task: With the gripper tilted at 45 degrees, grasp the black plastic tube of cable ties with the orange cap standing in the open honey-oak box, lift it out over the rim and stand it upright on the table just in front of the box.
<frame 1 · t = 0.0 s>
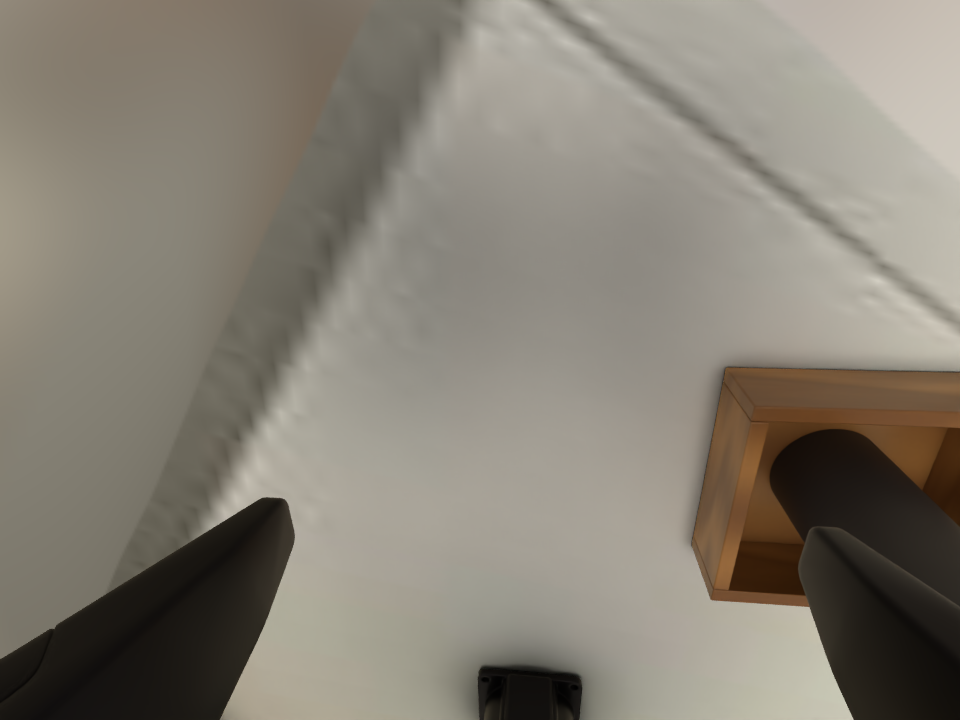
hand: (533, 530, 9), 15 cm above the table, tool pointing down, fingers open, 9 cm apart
box: (821, 468, 25), on the table
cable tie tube: (824, 472, 24), resting on box
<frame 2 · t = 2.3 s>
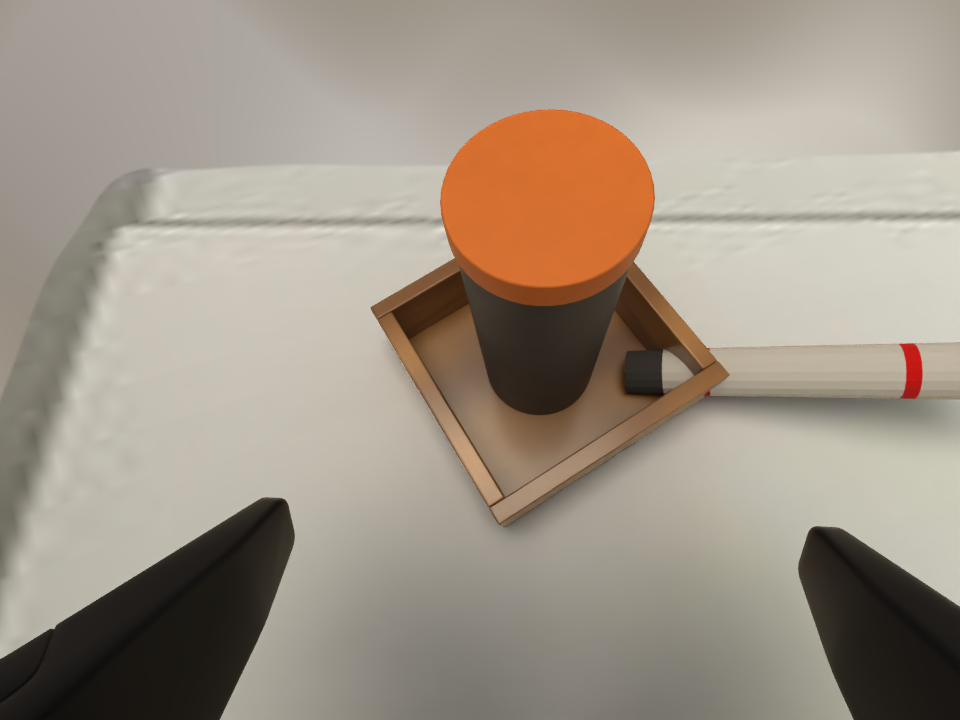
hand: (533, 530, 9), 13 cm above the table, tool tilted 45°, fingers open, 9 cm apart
marker: (830, 381, 21), point 2 cm above the table, touching box
box: (538, 366, 24), on the table
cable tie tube: (538, 364, 24), resting on box
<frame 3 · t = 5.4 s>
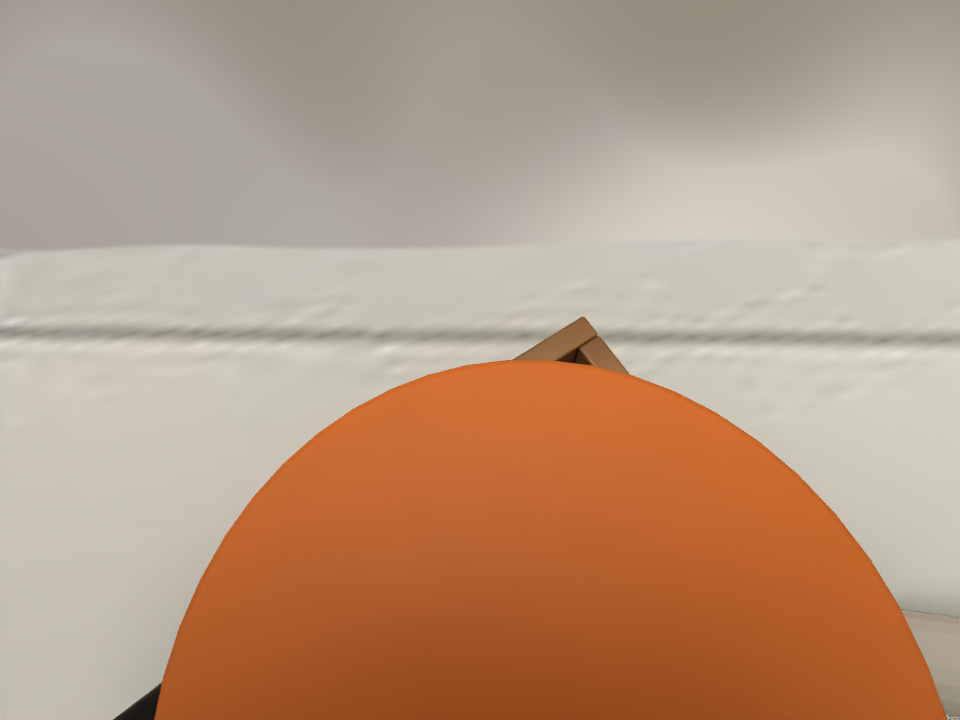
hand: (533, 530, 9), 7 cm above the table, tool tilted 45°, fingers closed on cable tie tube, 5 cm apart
box: (531, 589, 15), on the table
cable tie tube: (530, 590, 15), resting on box, touching gripper
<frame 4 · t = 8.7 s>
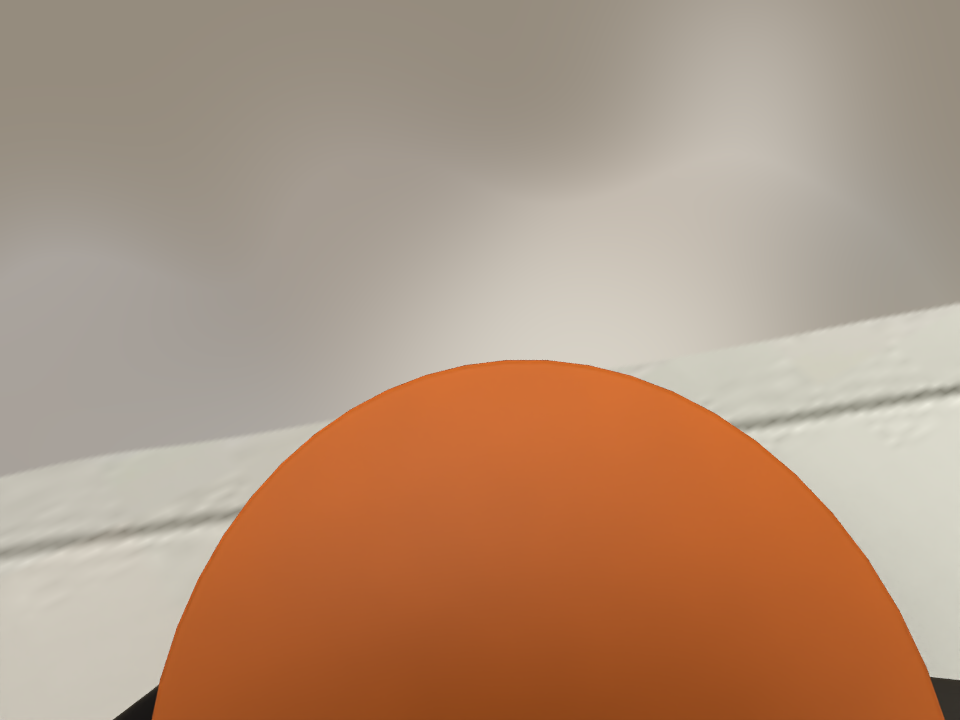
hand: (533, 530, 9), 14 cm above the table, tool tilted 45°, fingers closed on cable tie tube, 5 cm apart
marker: (725, 689, 18), point 2 cm above the table, touching box
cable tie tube: (530, 590, 15), point 7 cm above the table, touching gripper
when the fingers open (7 cm above the table, at t = 12.4 s): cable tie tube stays where it is, on the table.
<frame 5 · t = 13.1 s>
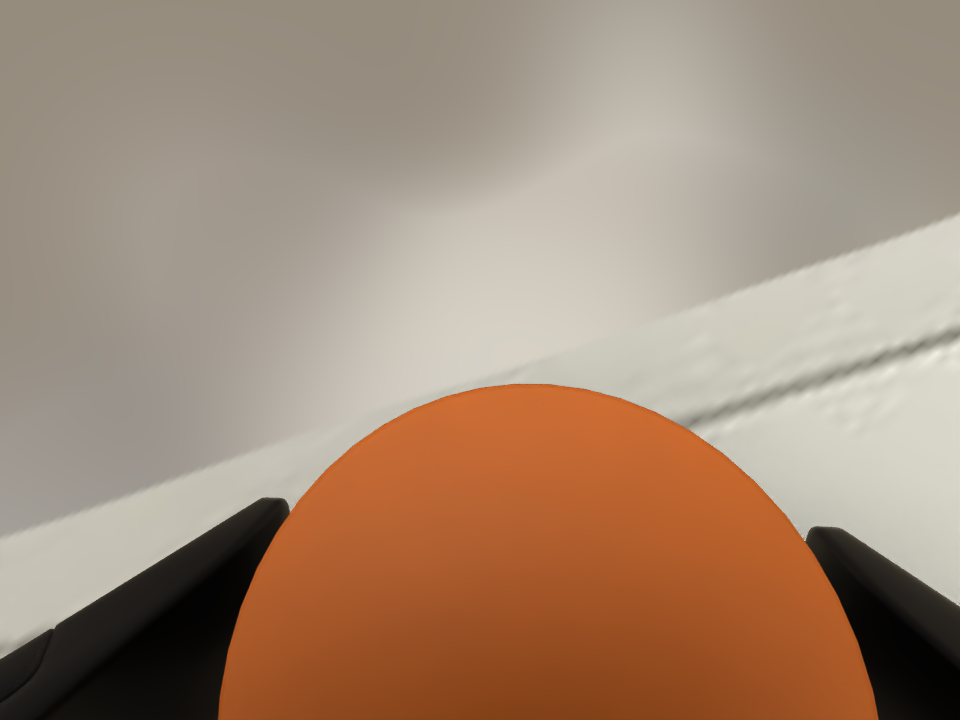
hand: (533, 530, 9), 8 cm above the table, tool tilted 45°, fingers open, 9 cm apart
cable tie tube: (531, 586, 16), on the table
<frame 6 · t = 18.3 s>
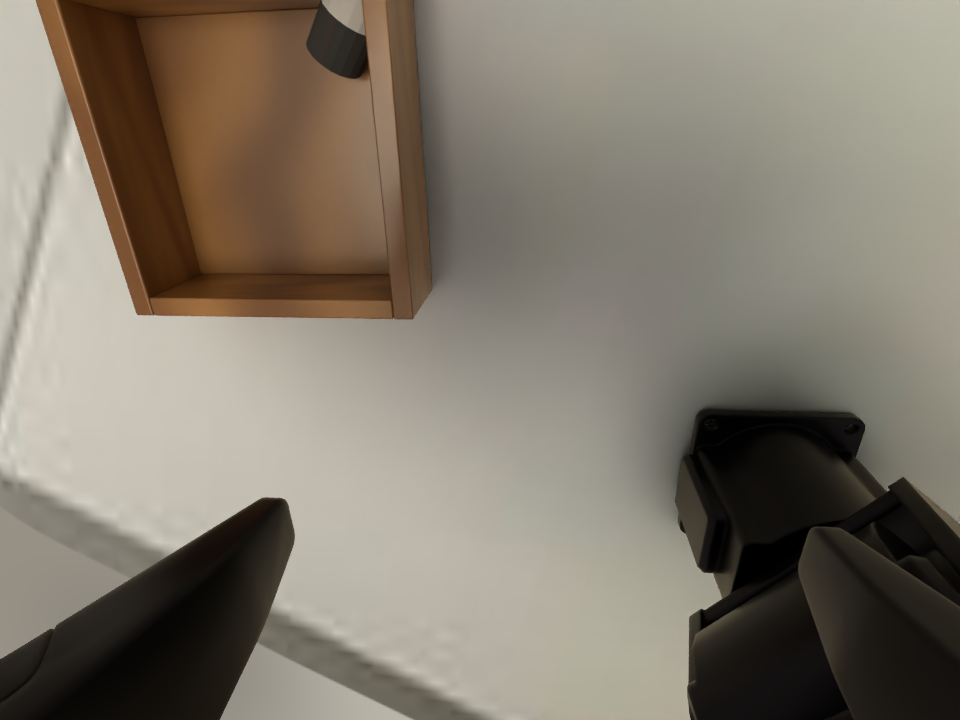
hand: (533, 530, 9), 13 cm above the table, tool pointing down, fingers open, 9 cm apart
box: (287, 155, 19), on the table
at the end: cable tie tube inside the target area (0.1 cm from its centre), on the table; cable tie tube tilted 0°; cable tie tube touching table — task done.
